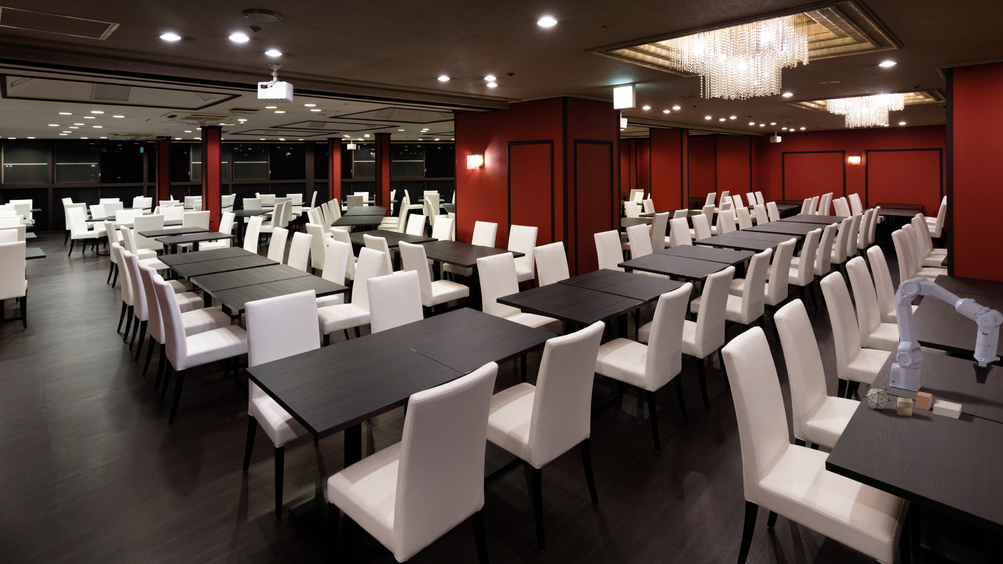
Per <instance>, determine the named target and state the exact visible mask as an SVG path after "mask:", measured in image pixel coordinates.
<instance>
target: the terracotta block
mask: <svg viewBox="0 0 1003 564" xmlns="http://www.w3.org/2000/svg"><path fill="white" fill-rule="evenodd" d="M915 396H916V397H915V406H914V407H915V408H917V409H919V410H920V409H921V410H925V411H930V409H931V407H932V399H933V394H932V393H929V392H924V391H923V392H922V391H917V393H916V395H915Z"/></svg>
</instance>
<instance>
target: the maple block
mask: <svg viewBox="0 0 1003 564" xmlns="http://www.w3.org/2000/svg"><path fill="white" fill-rule="evenodd" d="M913 404H914V403H913V399H912V398H906V397H900V396H898V397H897V402H896V413H897V415H902V416H909V417H912V414H913V406H914V405H913Z"/></svg>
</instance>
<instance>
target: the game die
mask: <svg viewBox="0 0 1003 564" xmlns="http://www.w3.org/2000/svg"><path fill="white" fill-rule="evenodd" d="M868 388H869V390H868V392H867V393H866V395H864V396H863V398H865V400H866V402H867V405H868V407H867V410H869V409H870V408H872V409H878V410H883V412H886V407H887V406H888V404H889V402H892V401H893V400H892V399H890V398H889V395H888V393H887V388H884V389H879V388H873V387H872V386H870V385H869V387H868Z"/></svg>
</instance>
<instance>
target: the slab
mask: <svg viewBox="0 0 1003 564" xmlns="http://www.w3.org/2000/svg"><path fill="white" fill-rule="evenodd" d="M932 407H933V409H932V414H933V415H938V416H942V417H946V418H951V419H956V420H959V417H960V415H961V414H962V407H963V406H962V404H960V403H955V402H951V401H950V402H949V401H945V400H942V399H941V400H940V399H936V401H935V403H934V404H933V406H932Z"/></svg>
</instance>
